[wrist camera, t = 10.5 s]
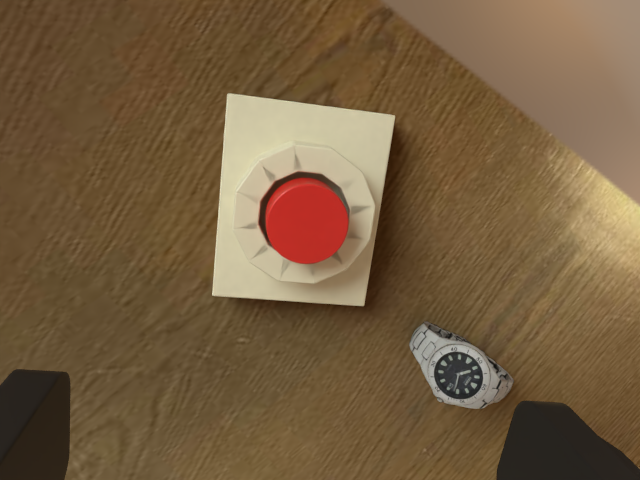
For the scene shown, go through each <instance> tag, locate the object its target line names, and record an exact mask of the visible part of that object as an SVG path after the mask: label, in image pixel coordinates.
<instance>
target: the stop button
mask: <svg viewBox="0 0 640 480" xmlns="http://www.w3.org/2000/svg"><path fill="white" fill-rule="evenodd" d="M265 219H266V230H267V235H268V238H269V241H270V243H271V245H272V246H273V248H274V249H275V250H276V251H277V252H278V253H279V254H280V255H281V256H282V257H284V258H286V259H287V260H290V261H292V262H295V263H300V264H313V263H317V262H321V261H323V260H325V259H327V258H329V257H330V256H332V255H333V254H334V253H335V252H337V250H338V249H339V248H340V247H341V245H342V244H343V242H344V240H345V238H346V235H347V232H348V225H349V221H348V214H347V210H346V208H345V206H344V204H343V202H342V201H341V199H340V198H339V197H338V195H337V194H336V193H335V192H334V191H333V189H332V188H330V187H329V186H328V185H327V184H325V183H324V182H321V181H319V180H316V179H313V178H297V179H293V180H290V181H288V182H286V183H284V184H283V185H281V186H280V187H279V188H278V189H276V191H275V192H274V193H273V194H272V196H271V197H270V199H269V201H268V204H267V207H266V213H265Z"/></svg>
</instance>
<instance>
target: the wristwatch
mask: <svg viewBox="0 0 640 480" xmlns="http://www.w3.org/2000/svg"><path fill="white" fill-rule="evenodd" d="M409 345H410V349H411V351H412V352H413V354H414V356H415V358H416V359H417V361H418V363H420V365H421V369H422V371H423V373H424V375H425V377H426V380H427V381H428V383H429V385H430V386H431V388H432V391H433V394H434V395H435V396H436V397H437V400H438V401H439V402H441V403H442V402H445V403H447V404H452V405H457V406H462V407H466V408H474V409H479V408H480V409H482V408H485V407H486V406H488V405H489V404H492V403H497V402H499V401H500V400H501V399H503V398H504V397H505V396H506V395H507V394H508V393H509V391H510V390H511V387H512V385H513V383H514V380H513V378H512V377H511V376H510V375H509V374H508V373H507V372H506V371H505V370H504V369H503V368H502V367H501V366H500V365H498V364H497V363H496V362H494V360H493V359H491V358H489V357H488V356H486V355H485V353H484V352H483V351H482V350H479V349H478V348H477V347H475V346H474V345H471V343H470V342H469V341H467V340H466V339H464V338H463V337H461V336H459V335H457V334H455V333H450V332H449V331H446V330H444V329H442V328H440V327H438V326H437V325H433V324H432V323H429V322H427V321H425V322H424V323H423V324H422V325H421V326H419V327H418V328H417V329H416V330H415V331H414V333H413V335H412V338H411V340H410V344H409Z"/></svg>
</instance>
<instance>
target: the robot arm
mask: <svg viewBox="0 0 640 480" xmlns="http://www.w3.org/2000/svg"><path fill="white" fill-rule="evenodd" d="M69 445H70V378H69V375H68V373H67V372H56V371H39V370H22V369H17V370H14V371H13V372H12V373H11V374H10V375H9V376H8V377H7V378H6V379H5V380H4V382H3V383H2V384H1V385H0V480H64V478H65V475H66V471H67V466H68V460H69ZM497 480H640V469H639V468H638V467H637V466H636V465H635V464H634V463H633V462H632V461H631V460H630V459H629V458H628V457H627V456H626V455H625V454H623V453H622V452H621V451H620V450H618V449H617V448H615V447H614V446H612V445H611V444H609V443H608V442H606V441H605V440H603V439H602V438H600V437H599V436H598V435H597V434H596V433H595V432H594V431H593V430H592V429H591V428H590V427H589V426H588V425H587V424H586V423H585V422H584V421H583V420H582V419H581V418H580V417H579V416H578V415H577V414H576V413H575V412H574V411H573V410H572V409H571V408H570V407H568V406H567V405H566V404H563V403H556V402H539V401H522V402H520V403H519V404H518V405H517V407H516V409H515V411H514V414H513V417H512V421H511V424H510V428H509V431H508V434H507V438H506V441H505V444H504V448H503V451H502V454H501V458H500V461H499V465H498V469H497Z"/></svg>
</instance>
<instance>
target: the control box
mask: <svg viewBox="0 0 640 480" xmlns="http://www.w3.org/2000/svg"><path fill="white" fill-rule="evenodd" d="M394 123H395V116H394V115H389V114H382V113H374V112H367V111H359V110H352V109H344V108H337V107H329V106H322V105H314V104H307V103H299V102H292V101H284V100H277V99H269V98H261V97H254V96H246V95H239V94H231V93H229V94H228V95H227V104H226V117H225V131H224V144H223V158H222V171H221V184H220V198H219V211H218V224H217V238H216V251H215V264H214V278H213V291H212V295H213V296H222V297H236V298H250V299H265V300H279V301H294V302H308V303H323V304H337V305H351V306H364V304H365V298H366V292H367V286H368V280H369V274H370V268H371V262H372V256H373V250H374V243H375V237H376V231H377V225H378V219H379V213H380V207H381V201H382V195H383V189H384V183H385V177H386V171H387V165H388V159H389V153H390V147H391V141H392V135H393V129H394ZM297 178H313V179H316V180H319V181H321V182H324V183H325V184H327V185H328V186H329V187H330V188H332V189H333V191H334V192H335V193H336V194H337V195H338V197H339V198H340V199H341V201H342V202H343V204H344V206H345V208H346V210H347V214H348V221H349V225H348V232H347V235H346V238H345V240H344V242H343V244H342V245H341V247H340V248H339V249H338V250H337V252H335V253H334V254H333V255H332V256H330V257H329V258H327V259H325V260H323V261H321V262H317V263H313V264H300V263H295V262H292V261H290V260H287V259H286V258H284V257H282V256H281V255H280V254H279V253H278V252H277V251H276V250H275V249H274V248H273V246H272V245H271V243H270V241H269V238H268V235H267V230H266V219H265V213H266V207H267V204H268V201H269V199H270V197H271V196H272V194H273V193H274V192H275V191H276V189H278V188H279V187H280V186H281V185H283V184H284V183H286V182H288V181H290V180H293V179H297Z"/></svg>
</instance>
